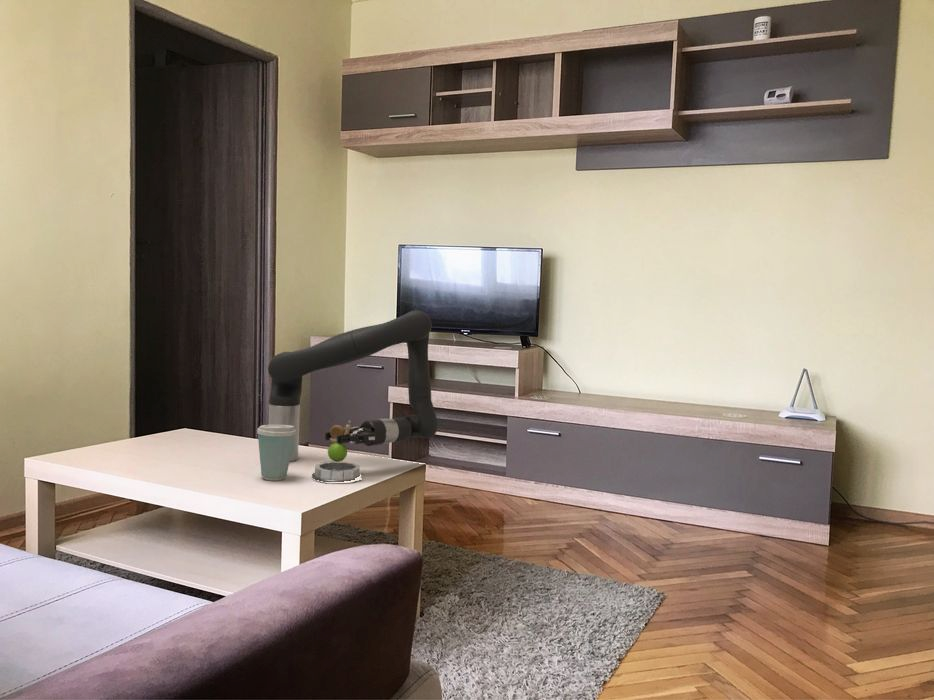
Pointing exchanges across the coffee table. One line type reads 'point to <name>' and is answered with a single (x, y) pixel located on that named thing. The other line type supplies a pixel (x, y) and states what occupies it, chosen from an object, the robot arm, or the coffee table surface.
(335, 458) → the snail figurine
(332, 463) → the collar base
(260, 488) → the coffee table surface
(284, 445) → the disposable coffee cup
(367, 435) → the robot arm
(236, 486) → the coffee table surface
